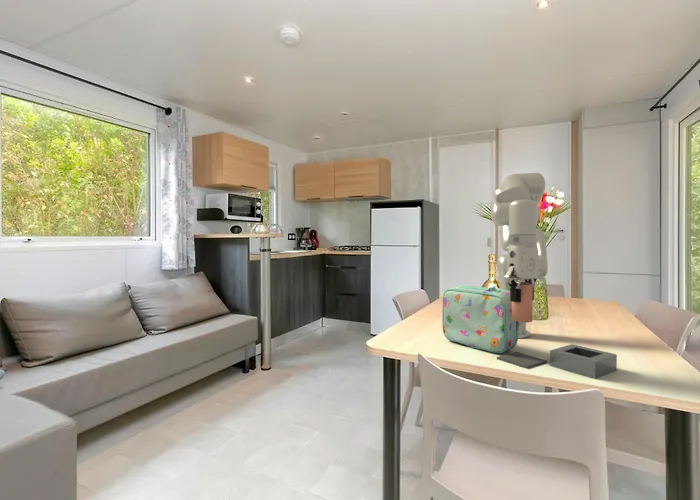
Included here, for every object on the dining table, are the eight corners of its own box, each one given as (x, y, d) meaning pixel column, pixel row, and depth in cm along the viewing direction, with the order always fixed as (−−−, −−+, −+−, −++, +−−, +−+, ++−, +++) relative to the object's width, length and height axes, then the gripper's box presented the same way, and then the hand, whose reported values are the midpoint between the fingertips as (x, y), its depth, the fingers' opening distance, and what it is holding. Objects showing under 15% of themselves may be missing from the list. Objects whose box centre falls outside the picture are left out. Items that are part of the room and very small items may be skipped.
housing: (549, 365, 106) (550, 350, 106) (572, 358, 112) (572, 344, 112) (594, 378, 95) (595, 361, 95) (616, 370, 102) (616, 354, 102)
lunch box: (525, 352, 118) (525, 287, 118) (508, 359, 112) (509, 290, 111) (456, 335, 139) (456, 280, 139) (439, 340, 133) (439, 282, 133)
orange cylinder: (507, 319, 111) (508, 282, 110) (519, 317, 114) (519, 281, 113) (525, 323, 106) (525, 283, 106) (536, 320, 109) (536, 282, 109)
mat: (496, 358, 112) (496, 357, 112) (516, 353, 117) (516, 351, 117) (527, 368, 103) (527, 366, 103) (547, 362, 108) (547, 360, 108)
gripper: (516, 241, 102) (515, 305, 102) (550, 241, 111) (550, 300, 111) (493, 241, 108) (493, 301, 108) (527, 241, 117) (527, 297, 117)
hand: (522, 300), depth 110 cm, fingers closed on orange cylinder, 5 cm apart
